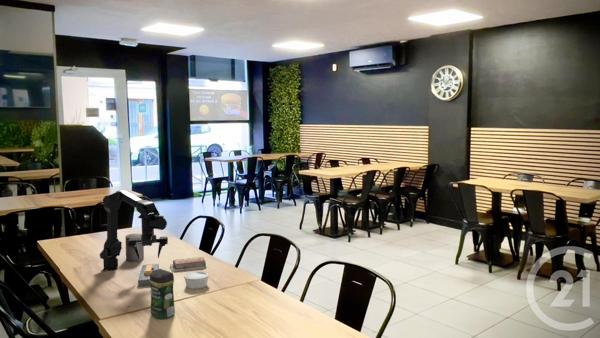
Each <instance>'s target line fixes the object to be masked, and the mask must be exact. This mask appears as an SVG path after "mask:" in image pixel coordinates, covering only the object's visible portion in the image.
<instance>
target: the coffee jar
mask: <svg viewBox="0 0 600 338" xmlns="http://www.w3.org/2000/svg"><path fill="white" fill-rule="evenodd" d="M174 283H175V277H174V272H172V271H169V270H165V269H161V268H159V269H157V270H153V271H152V272H151V273H150V315H151V316H153V317H155V318H156V319H159V320H163V319H169V318H171V317H173V316H174V315H175V313H176V309H175V297H174Z"/></svg>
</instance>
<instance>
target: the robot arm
mask: <svg viewBox="0 0 600 338" xmlns="http://www.w3.org/2000/svg"><path fill="white" fill-rule="evenodd" d="M122 201H123V202H125V203H127V204H129V205H131V206H132V207H134V208H135V209H136V211H137V212H138V213H139V215H138V216H137V218H138V219H141V220H140V221H141V234H142V236H141V240H137V238H130V239H129V240H128V247H130V246H131V248H133V249H134V250H135V252H136V254H137V257H138V259H140V255H139V247H138V244H142V246H144V247H146V246H147V247H148V246H149V247H151V246H153V244H156V243H158V251H157V258H158V259H159V258H160V255H161V251H162V249H163V247H165V246H166V245H168V244H169V237H168V236H167V235H166V236H159V238H157V234H155V230H160V231H163V230H165V229H166V227H167V225H168V221H167V220H166V218H165V217H164V215H161V213H160V212H159V210H158V209H157V207H156V204H155V203H154V202H153V201H151V200H145V199H141V198H140V197H138V196H136V195H135V194H133V193H130V192H128V190H126V189H120V190H117V191H115V192H113V193H112V194H109V195H105V196H104V197H103V198H102V205H103V208H104V211H106V239H105V241H104V243H103V248H102V249H103V250H102V251H101V252H100V253H99V257H100V259H102V260H103V263H102V264H103V268H102V271H113V270H117V269H118V267H119V258H118V257H119V256H120V255H121V252H122V250H123V248H122V246H123V245H122V241H120V240H119V238H118V211H119V209H120V207H121V202H122Z"/></svg>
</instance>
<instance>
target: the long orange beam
mask: <svg viewBox="0 0 600 338" xmlns="http://www.w3.org/2000/svg"><path fill="white" fill-rule="evenodd" d="M146 265H147V264H146ZM151 271H152V265H147V266H146V270H145V275H150V273H151Z"/></svg>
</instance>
